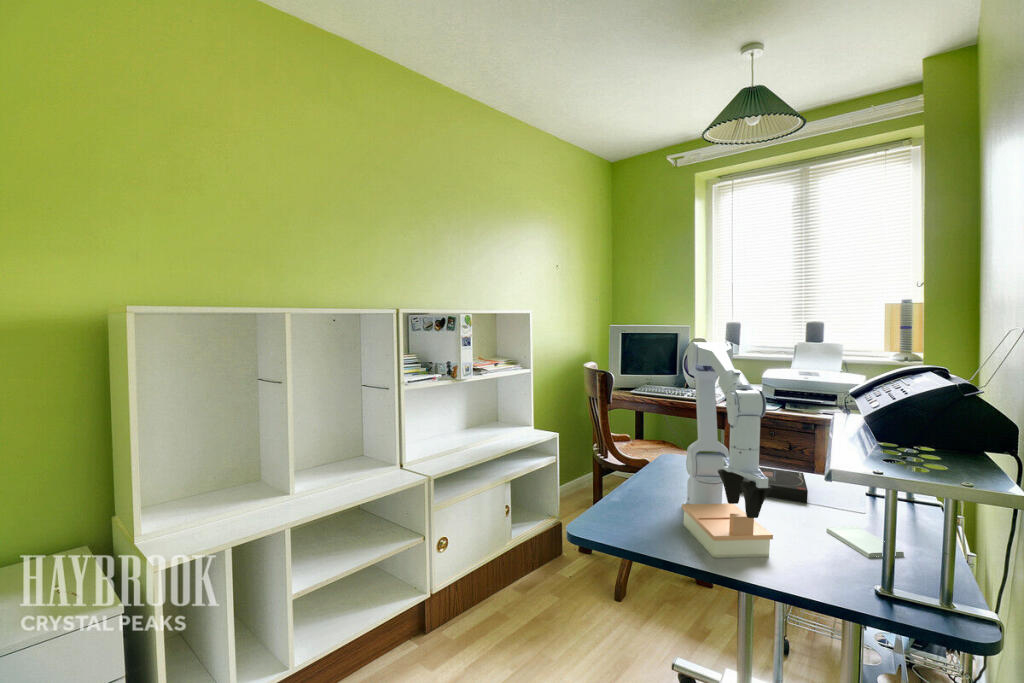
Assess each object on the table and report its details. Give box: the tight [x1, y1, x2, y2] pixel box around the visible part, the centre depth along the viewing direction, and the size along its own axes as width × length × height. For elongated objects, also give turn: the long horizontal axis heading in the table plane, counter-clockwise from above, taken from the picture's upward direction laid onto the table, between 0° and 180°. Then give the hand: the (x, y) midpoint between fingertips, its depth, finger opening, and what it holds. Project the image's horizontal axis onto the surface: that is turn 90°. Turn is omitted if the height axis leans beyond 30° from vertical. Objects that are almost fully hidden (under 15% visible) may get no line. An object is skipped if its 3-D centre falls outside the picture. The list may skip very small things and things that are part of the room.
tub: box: [683, 510, 771, 559], centre depth 113 cm, size 16×12×4 cm
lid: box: [681, 502, 774, 541], centre depth 112 cm, size 17×13×5 cm
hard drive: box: [825, 525, 905, 559], centre depth 112 cm, size 2×8×12 cm
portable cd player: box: [740, 466, 809, 504], centre depth 145 cm, size 16×17×4 cm
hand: (742, 510), depth 105 cm, fingers open, 7 cm apart
